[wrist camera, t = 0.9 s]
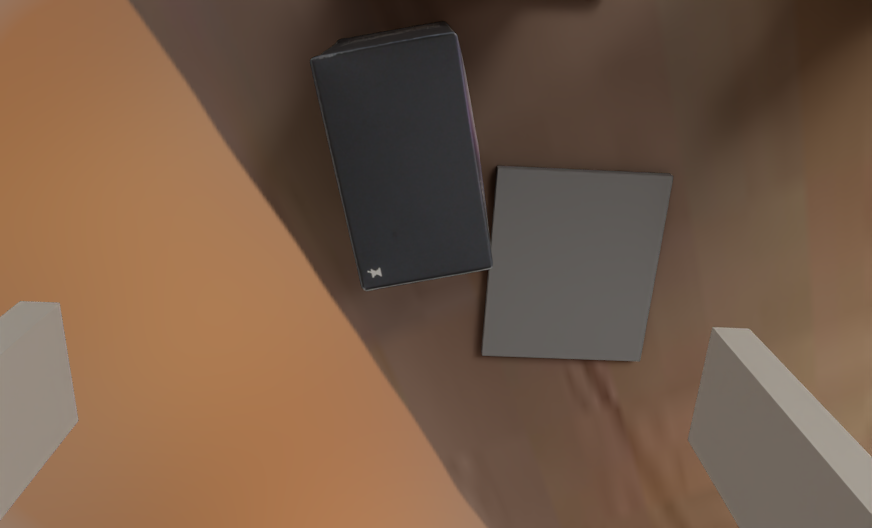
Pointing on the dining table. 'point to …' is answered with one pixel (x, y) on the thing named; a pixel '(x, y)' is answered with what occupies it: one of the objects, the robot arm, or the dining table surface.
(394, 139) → the small box
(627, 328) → the felt mat
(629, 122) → the dining table surface
